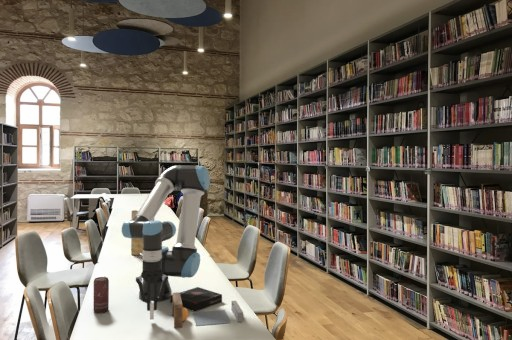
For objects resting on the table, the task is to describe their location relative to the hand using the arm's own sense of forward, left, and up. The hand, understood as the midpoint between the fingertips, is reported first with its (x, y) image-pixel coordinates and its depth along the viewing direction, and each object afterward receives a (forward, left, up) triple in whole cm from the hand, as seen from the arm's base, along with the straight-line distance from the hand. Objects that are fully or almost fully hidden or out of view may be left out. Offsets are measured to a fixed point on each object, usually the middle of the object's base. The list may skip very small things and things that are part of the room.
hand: (151, 318), depth 166 cm
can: (-18, -21, -2) cm, 28 cm away
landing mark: (0, +24, -2) cm, 24 cm away
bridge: (0, +10, -2) cm, 10 cm away
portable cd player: (-20, +20, -3) cm, 28 cm away
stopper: (0, +35, -2) cm, 35 cm away
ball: (+1, +12, +1) cm, 12 cm away
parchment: (-112, -5, -2) cm, 112 cm away
